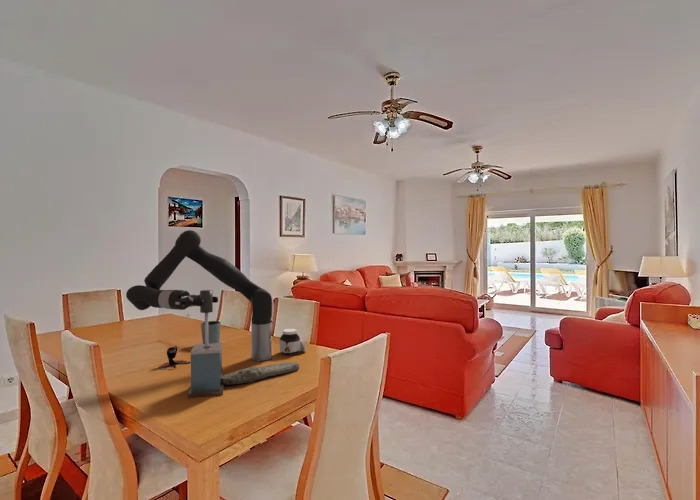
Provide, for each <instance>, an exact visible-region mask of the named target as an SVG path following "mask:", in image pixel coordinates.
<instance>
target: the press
mask: <svg viewBox="0 0 700 500" xmlns="http://www.w3.org/2000/svg"><path fill="white" fill-rule="evenodd" d="M222 345H223V344H222V342H220V343H212V344H208V346H209V348H205V344H203V343H201V344H200V343H197V344H194V345H193V347H192V348H191V351H190V386H189V389H188V393H187V398H188V399H191V398H192V399H194V398H203V397H204V398H206V397H215V396H223V395H224V388H225V385H226V384H224V383H222V382H221V381H222V380H221V379H222V376H223V357H222V356H223V351H222V350H223V347H222Z"/></svg>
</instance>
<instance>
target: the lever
mask: <svg viewBox="0 0 700 500" xmlns="http://www.w3.org/2000/svg"><path fill="white" fill-rule="evenodd" d="M199 294H200V300H204V306H199V312H200V314H201V313H202V314H204V322H205V348H209V346H208V321H209V313H213V311H214V309H213V307H214V306H213V305H214V304H213V297H214V296H213V289H201V290H199Z"/></svg>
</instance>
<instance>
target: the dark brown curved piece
mask: <svg viewBox="0 0 700 500" xmlns="http://www.w3.org/2000/svg"><path fill="white" fill-rule="evenodd" d="M177 352H178V346H177V345H174V346H170V347H168V348H167V350H166V356H167V359H168V362H164V363H163V364H162V365H159V366H158V367H157V368H158V369H161V370H163V371H164V370H167V368H168V370H169V371H170V370H171V369H169V368H173V369H176V368H177V365H176V364H188V363H190V360H188V361H187V360H183V359H182V360H181V359H180V360H174V359H175V358H176V356H177Z"/></svg>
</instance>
